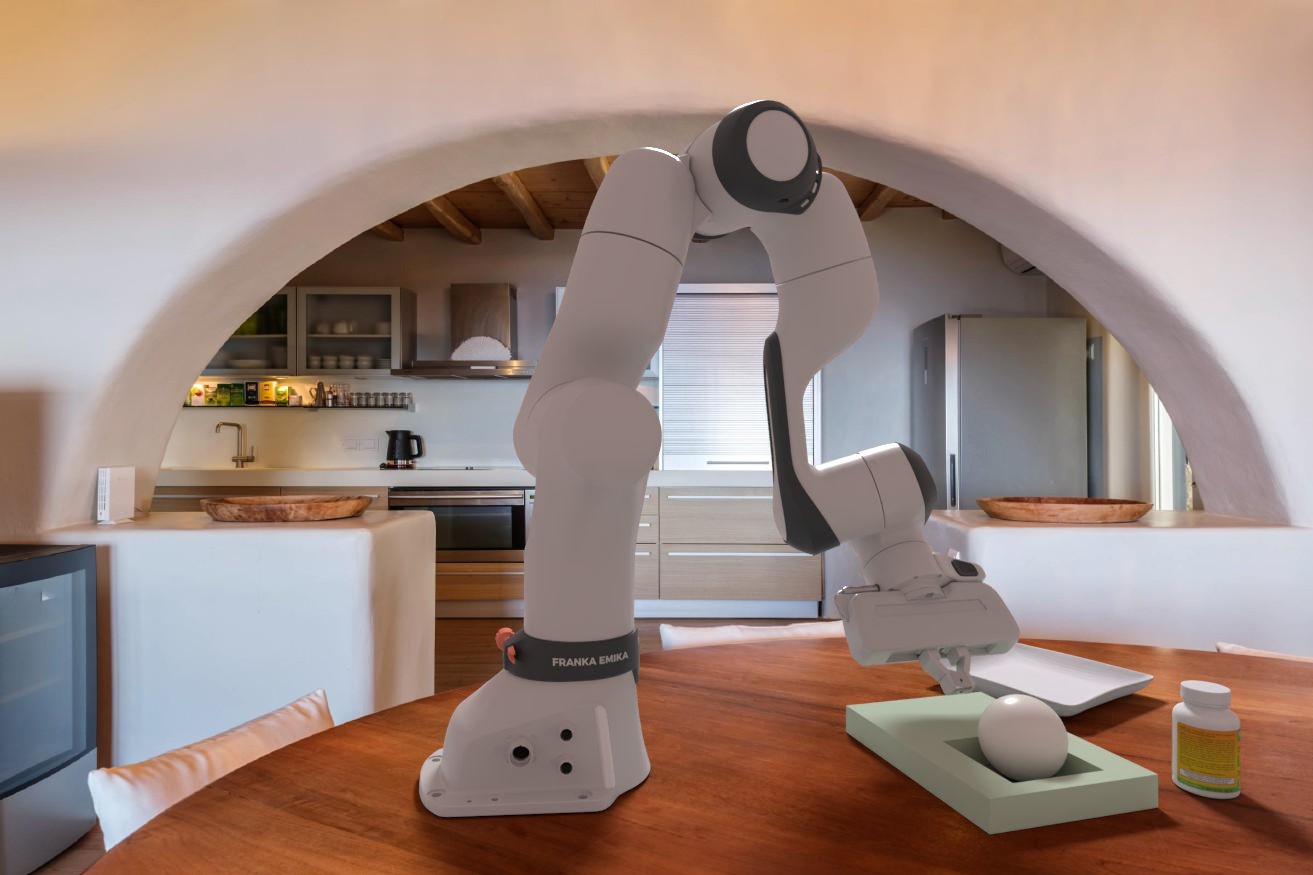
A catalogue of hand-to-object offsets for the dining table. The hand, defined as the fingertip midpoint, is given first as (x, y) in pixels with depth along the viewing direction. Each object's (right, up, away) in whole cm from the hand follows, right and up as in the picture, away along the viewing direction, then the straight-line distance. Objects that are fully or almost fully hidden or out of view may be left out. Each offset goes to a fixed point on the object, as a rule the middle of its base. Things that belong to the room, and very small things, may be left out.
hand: (961, 691), depth 84 cm
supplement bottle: (+20, -7, -8) cm, 23 cm away
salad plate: (+18, -7, +21) cm, 28 cm away
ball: (+3, -2, -7) cm, 8 cm away
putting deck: (+1, -6, -3) cm, 7 cm away
